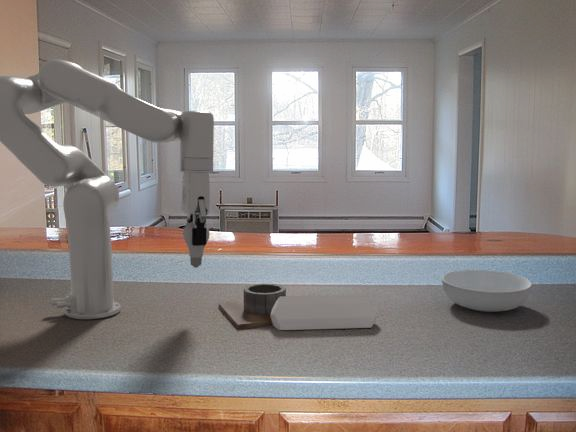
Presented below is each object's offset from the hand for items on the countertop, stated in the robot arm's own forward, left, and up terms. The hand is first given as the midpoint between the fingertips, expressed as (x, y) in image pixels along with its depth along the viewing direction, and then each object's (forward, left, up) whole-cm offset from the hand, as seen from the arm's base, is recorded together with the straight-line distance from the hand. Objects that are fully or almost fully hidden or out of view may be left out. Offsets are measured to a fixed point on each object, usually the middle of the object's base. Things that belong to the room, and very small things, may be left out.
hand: (196, 241), depth 152 cm
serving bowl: (+67, -19, -17) cm, 72 cm away
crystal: (+25, -19, -18) cm, 36 cm away
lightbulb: (0, 0, -6) cm, 6 cm away
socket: (+15, -6, -17) cm, 23 cm away
